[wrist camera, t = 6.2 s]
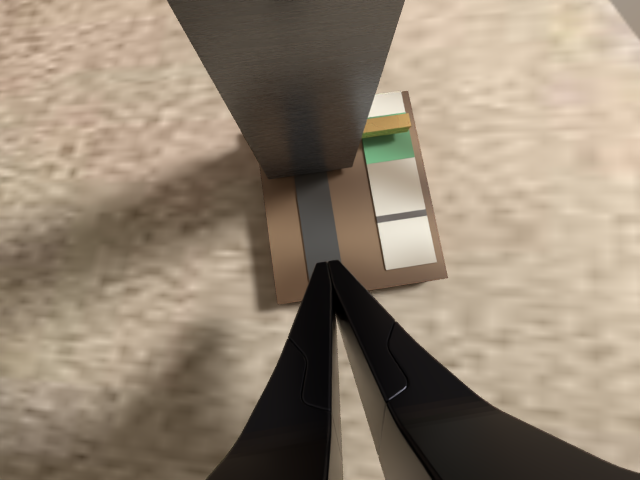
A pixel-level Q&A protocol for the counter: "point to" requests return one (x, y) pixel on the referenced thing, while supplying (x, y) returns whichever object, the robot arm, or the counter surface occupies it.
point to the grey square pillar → (297, 74)
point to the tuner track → (358, 214)
